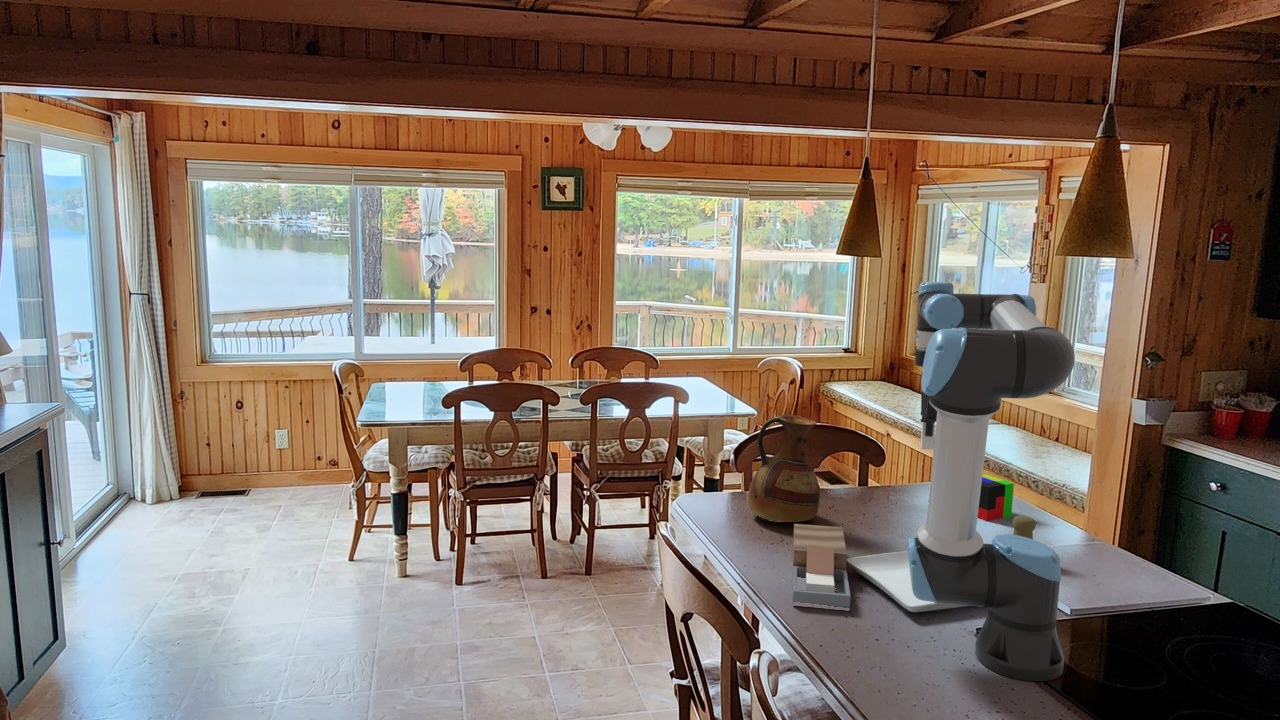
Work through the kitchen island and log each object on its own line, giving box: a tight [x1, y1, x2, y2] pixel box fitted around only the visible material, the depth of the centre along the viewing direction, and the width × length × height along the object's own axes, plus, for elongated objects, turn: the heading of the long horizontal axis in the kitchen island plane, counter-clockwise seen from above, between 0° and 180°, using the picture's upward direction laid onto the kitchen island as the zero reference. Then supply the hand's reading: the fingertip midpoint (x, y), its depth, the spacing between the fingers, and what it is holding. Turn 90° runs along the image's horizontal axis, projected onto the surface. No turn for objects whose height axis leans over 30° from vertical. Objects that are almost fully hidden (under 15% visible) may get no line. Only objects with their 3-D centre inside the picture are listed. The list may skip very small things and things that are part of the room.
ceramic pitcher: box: [747, 413, 821, 523], centre depth 229 cm, size 20×20×30 cm
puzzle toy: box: [977, 473, 1015, 522], centre depth 235 cm, size 10×10×10 cm
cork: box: [1012, 515, 1036, 540], centre depth 201 cm, size 6×6×11 cm
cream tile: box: [806, 572, 834, 593], centre depth 181 cm, size 6×6×3 cm
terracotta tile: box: [806, 546, 834, 575], centre depth 186 cm, size 6×6×3 cm
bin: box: [792, 565, 851, 609], centre depth 181 cm, size 14×12×4 cm
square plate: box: [846, 550, 971, 613], centre depth 185 cm, size 27×27×4 cm
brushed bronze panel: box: [792, 523, 848, 571], centre depth 197 cm, size 18×12×7 cm, turn 169°
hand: (927, 448), depth 190 cm, fingers closed
